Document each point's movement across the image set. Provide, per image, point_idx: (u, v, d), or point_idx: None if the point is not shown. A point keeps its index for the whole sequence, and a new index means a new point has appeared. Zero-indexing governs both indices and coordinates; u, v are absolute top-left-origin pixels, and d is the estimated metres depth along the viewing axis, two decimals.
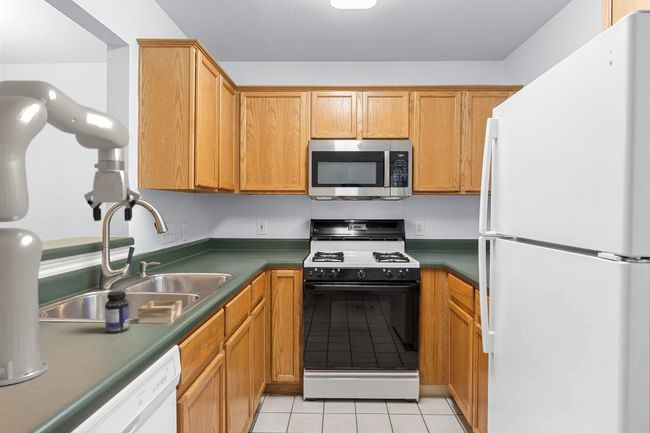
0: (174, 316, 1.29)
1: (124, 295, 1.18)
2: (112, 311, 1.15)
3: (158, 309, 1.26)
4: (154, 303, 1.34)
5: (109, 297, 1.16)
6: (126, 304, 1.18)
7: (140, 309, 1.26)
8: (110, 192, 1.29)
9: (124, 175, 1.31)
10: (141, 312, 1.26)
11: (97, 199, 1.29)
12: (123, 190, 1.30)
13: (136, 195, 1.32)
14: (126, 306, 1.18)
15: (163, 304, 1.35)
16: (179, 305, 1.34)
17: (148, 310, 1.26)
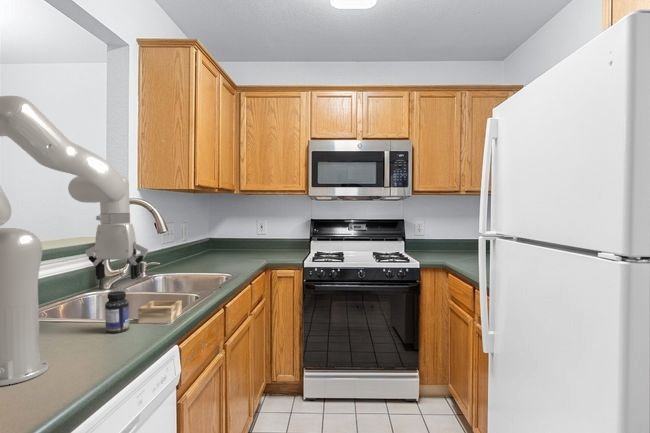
0: (174, 316, 1.29)
1: (124, 295, 1.18)
2: (112, 311, 1.15)
3: (158, 309, 1.26)
4: (154, 303, 1.34)
5: (109, 297, 1.16)
6: (126, 304, 1.18)
7: (140, 309, 1.26)
8: (114, 248, 1.15)
9: (130, 228, 1.17)
10: (141, 312, 1.26)
11: (100, 256, 1.15)
12: (129, 245, 1.16)
13: (143, 250, 1.18)
14: (126, 306, 1.18)
15: (163, 304, 1.35)
16: (179, 305, 1.34)
17: (148, 310, 1.26)
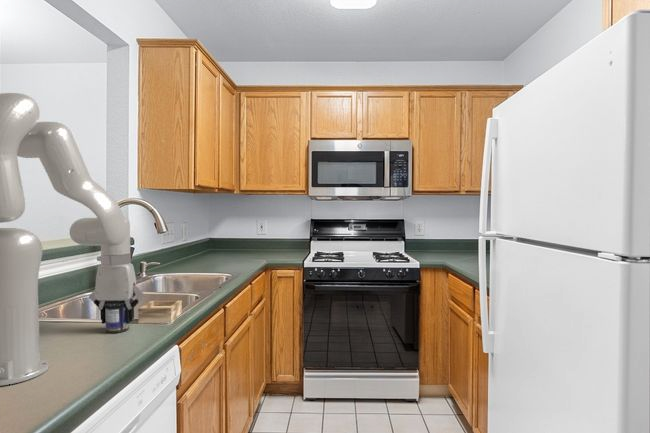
0: (174, 316, 1.29)
1: None
2: (112, 311, 1.15)
3: (158, 309, 1.26)
4: (154, 303, 1.34)
5: None
6: None
7: (140, 309, 1.26)
8: (114, 289, 1.16)
9: (130, 270, 1.17)
10: (141, 312, 1.26)
11: (100, 298, 1.16)
12: (129, 287, 1.16)
13: (140, 295, 1.18)
14: (126, 306, 1.18)
15: (163, 304, 1.35)
16: (179, 305, 1.34)
17: (148, 310, 1.26)
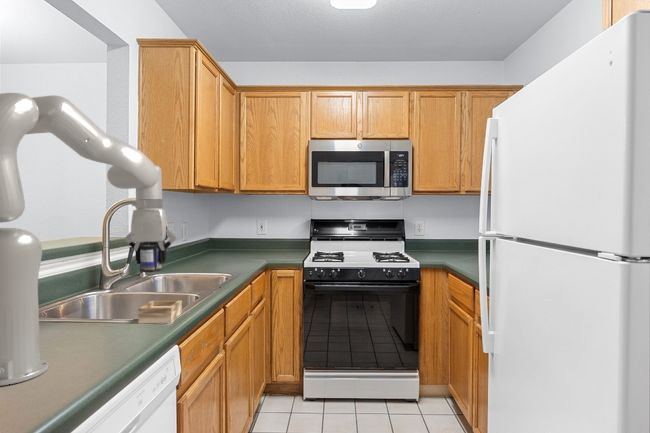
0: (174, 316, 1.29)
1: None
2: (147, 251, 1.25)
3: (158, 309, 1.26)
4: (154, 303, 1.34)
5: None
6: None
7: (140, 309, 1.26)
8: (149, 231, 1.25)
9: (163, 213, 1.26)
10: (141, 312, 1.26)
11: (135, 239, 1.25)
12: (162, 229, 1.25)
13: (172, 238, 1.27)
14: (159, 248, 1.27)
15: (163, 304, 1.35)
16: (179, 305, 1.34)
17: (148, 310, 1.26)
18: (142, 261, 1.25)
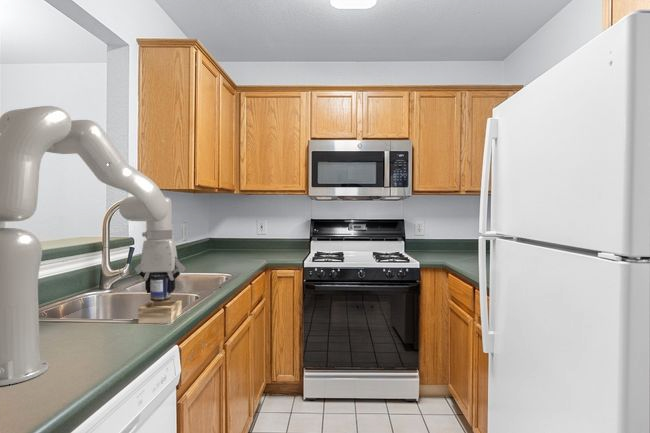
0: (174, 316, 1.29)
1: None
2: (157, 281, 1.27)
3: (158, 309, 1.26)
4: (154, 303, 1.34)
5: None
6: None
7: (140, 309, 1.26)
8: (158, 262, 1.28)
9: (172, 244, 1.29)
10: (141, 312, 1.26)
11: (146, 269, 1.27)
12: (172, 260, 1.28)
13: (182, 268, 1.30)
14: None
15: (163, 304, 1.35)
16: (179, 305, 1.34)
17: (148, 310, 1.26)
18: (152, 291, 1.28)
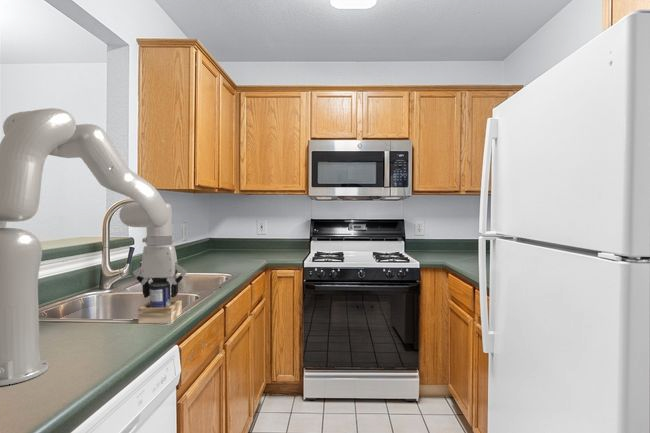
0: (174, 316, 1.29)
1: None
2: (156, 291, 1.27)
3: (158, 309, 1.26)
4: None
5: (153, 278, 1.28)
6: (168, 285, 1.30)
7: (140, 309, 1.26)
8: (159, 268, 1.28)
9: (173, 250, 1.29)
10: (141, 312, 1.26)
11: (146, 275, 1.28)
12: (172, 265, 1.28)
13: (183, 271, 1.30)
14: (168, 287, 1.30)
15: None
16: (179, 305, 1.34)
17: (148, 310, 1.26)
18: (151, 300, 1.28)
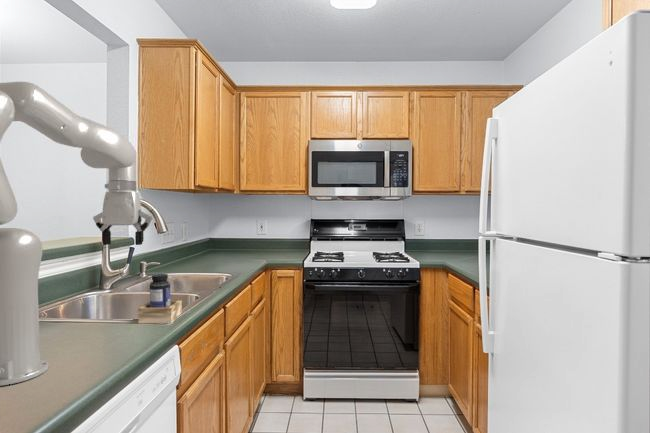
0: (174, 316, 1.29)
1: (166, 277, 1.30)
2: (156, 291, 1.27)
3: (158, 309, 1.26)
4: None
5: (153, 278, 1.28)
6: (168, 285, 1.30)
7: (140, 309, 1.26)
8: (120, 214, 1.21)
9: (136, 196, 1.22)
10: (141, 312, 1.26)
11: (107, 222, 1.21)
12: (134, 212, 1.21)
13: (148, 217, 1.23)
14: (168, 287, 1.30)
15: None
16: (179, 305, 1.34)
17: (148, 310, 1.26)
18: (152, 300, 1.28)
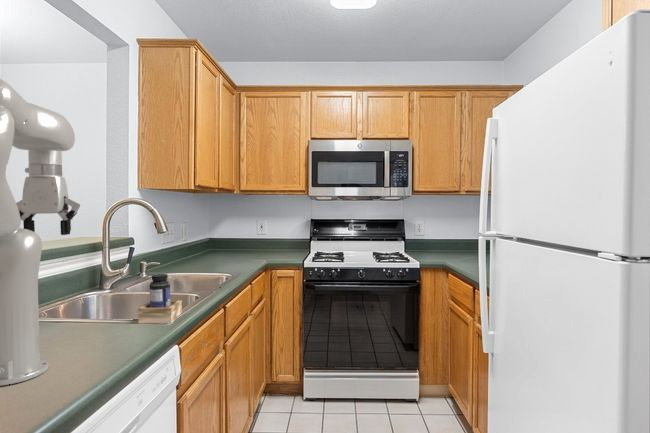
0: (174, 316, 1.29)
1: (166, 277, 1.30)
2: (156, 291, 1.27)
3: (158, 309, 1.26)
4: None
5: (153, 278, 1.28)
6: (168, 285, 1.30)
7: (140, 309, 1.26)
8: (42, 201, 1.09)
9: (60, 181, 1.11)
10: (141, 312, 1.26)
11: (27, 210, 1.09)
12: (58, 198, 1.10)
13: (75, 205, 1.12)
14: (168, 287, 1.30)
15: None
16: (179, 305, 1.34)
17: (148, 310, 1.26)
18: (151, 300, 1.28)
